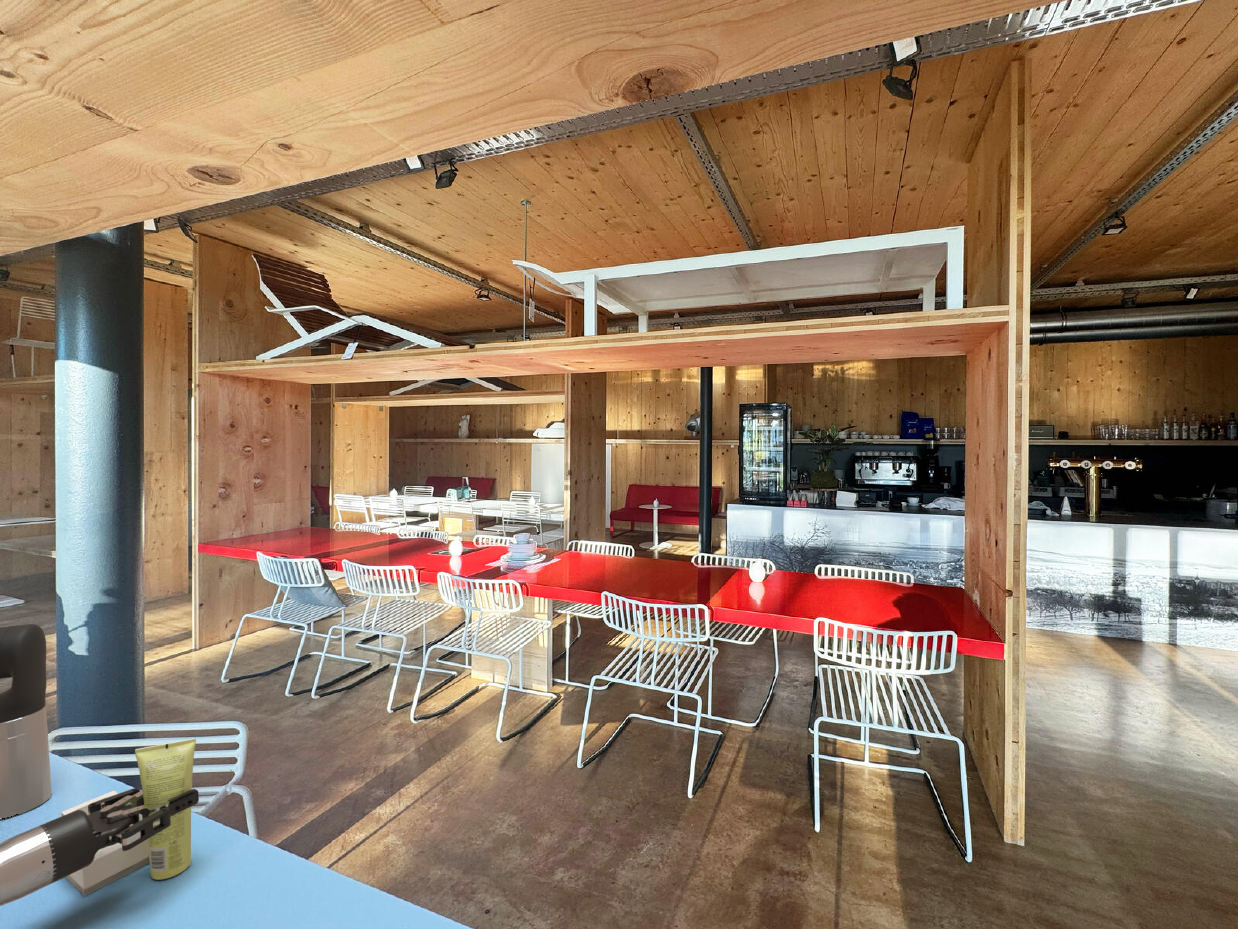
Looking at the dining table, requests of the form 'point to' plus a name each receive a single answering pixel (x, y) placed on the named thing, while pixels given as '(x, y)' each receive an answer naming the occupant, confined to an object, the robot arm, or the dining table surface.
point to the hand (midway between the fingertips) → (188, 790)
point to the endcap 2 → (110, 866)
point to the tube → (161, 781)
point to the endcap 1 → (85, 805)
